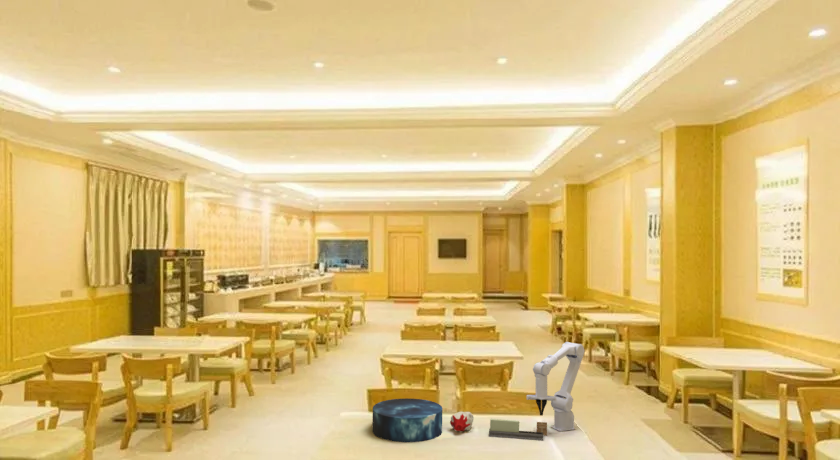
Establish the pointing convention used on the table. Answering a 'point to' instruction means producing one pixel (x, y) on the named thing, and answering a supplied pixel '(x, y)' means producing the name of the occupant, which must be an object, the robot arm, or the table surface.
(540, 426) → the block
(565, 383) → the robot arm
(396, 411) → the cylinder
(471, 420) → the rock with red coral
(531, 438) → the track
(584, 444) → the table surface
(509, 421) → the pale green long bar
